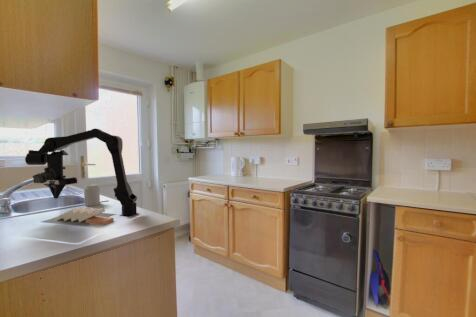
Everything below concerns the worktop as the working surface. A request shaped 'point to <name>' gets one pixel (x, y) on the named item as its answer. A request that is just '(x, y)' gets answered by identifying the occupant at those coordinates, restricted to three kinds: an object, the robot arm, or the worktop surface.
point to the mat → (76, 223)
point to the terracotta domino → (99, 220)
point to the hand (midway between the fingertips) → (56, 198)
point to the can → (91, 195)
